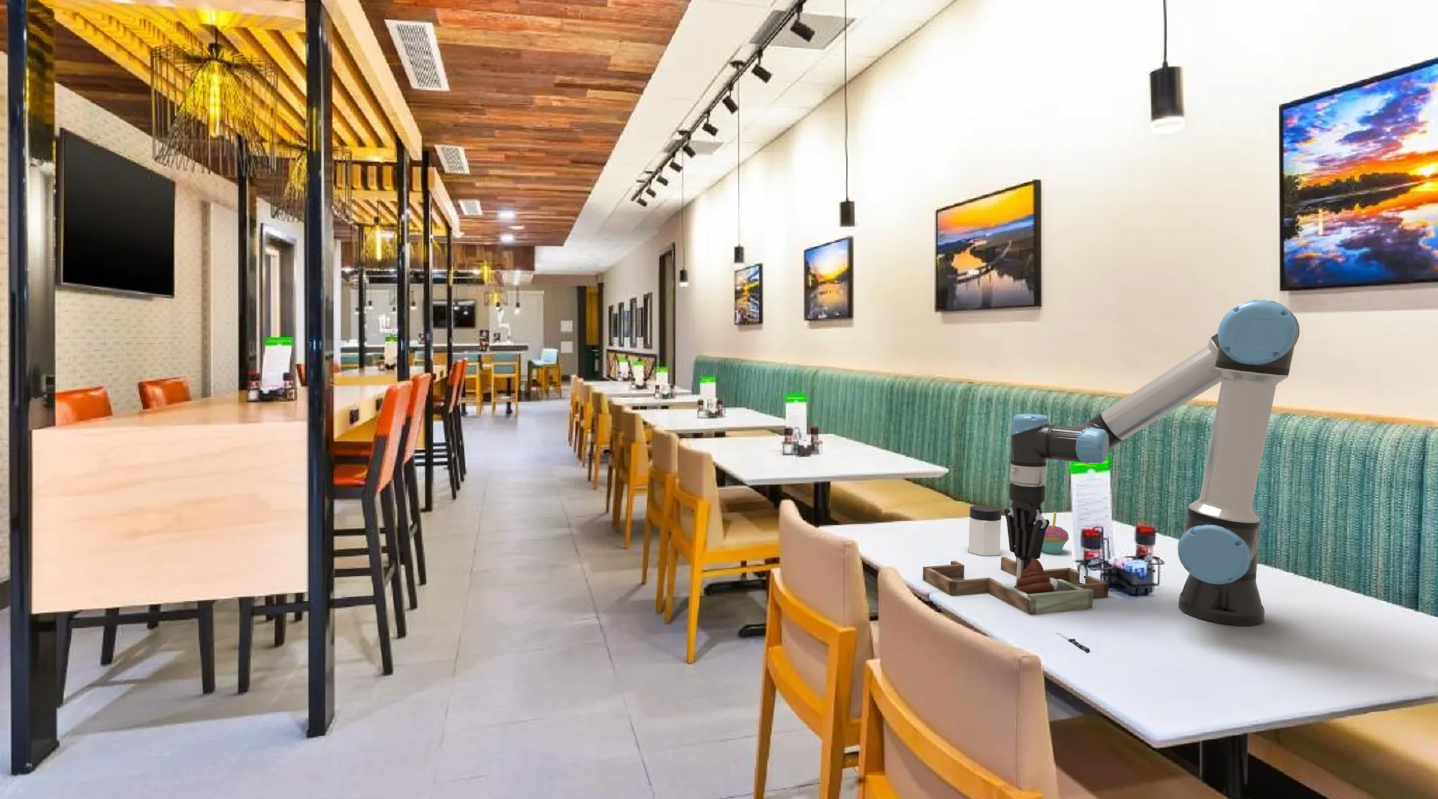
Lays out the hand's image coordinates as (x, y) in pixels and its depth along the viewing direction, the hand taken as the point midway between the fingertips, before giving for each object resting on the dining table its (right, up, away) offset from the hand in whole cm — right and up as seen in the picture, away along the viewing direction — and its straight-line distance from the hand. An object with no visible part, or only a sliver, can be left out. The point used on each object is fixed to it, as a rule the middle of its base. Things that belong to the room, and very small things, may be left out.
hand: (1023, 586), depth 176 cm
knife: (-4, -4, -25) cm, 25 cm away
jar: (+3, +1, +34) cm, 34 cm away
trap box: (-1, -1, +2) cm, 3 cm away
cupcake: (+21, +1, +35) cm, 41 cm away
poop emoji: (0, -2, -5) cm, 6 cm away
